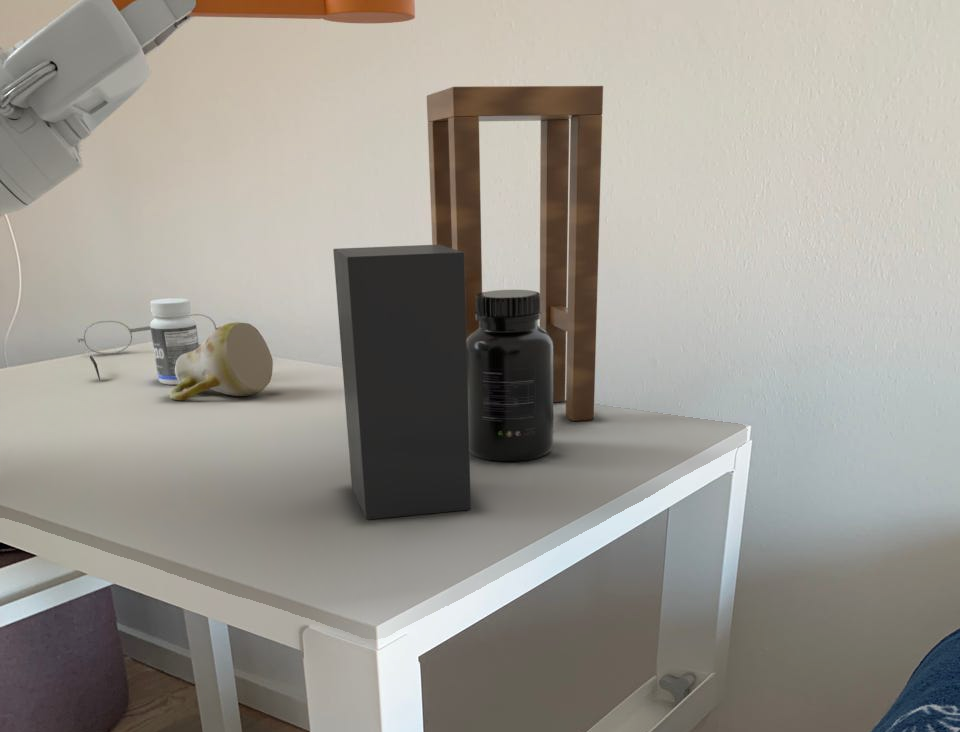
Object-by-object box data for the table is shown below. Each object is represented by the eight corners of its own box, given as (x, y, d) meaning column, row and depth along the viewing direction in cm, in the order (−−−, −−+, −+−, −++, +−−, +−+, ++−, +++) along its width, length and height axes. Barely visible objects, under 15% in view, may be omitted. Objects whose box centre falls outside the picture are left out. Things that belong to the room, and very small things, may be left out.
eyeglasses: (223, 343, 132) (219, 311, 130) (259, 369, 117) (255, 334, 115) (79, 355, 125) (73, 322, 124) (97, 385, 110) (91, 348, 108)
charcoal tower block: (366, 520, 65) (347, 256, 58) (351, 489, 71) (333, 248, 64) (471, 509, 66) (464, 252, 60) (448, 481, 73) (439, 244, 66)
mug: (197, 385, 108) (234, 301, 104) (258, 435, 105) (298, 350, 101) (145, 380, 101) (181, 289, 97) (208, 433, 98) (248, 342, 94)
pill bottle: (156, 379, 110) (143, 299, 107) (199, 375, 112) (188, 296, 108) (161, 386, 106) (149, 304, 103) (206, 382, 108) (195, 301, 104)
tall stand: (462, 430, 86) (452, 86, 75) (438, 406, 95) (426, 95, 84) (594, 419, 89) (603, 85, 78) (558, 397, 98) (562, 94, 86)
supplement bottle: (469, 441, 83) (465, 288, 78) (551, 439, 83) (553, 286, 77) (465, 463, 77) (460, 299, 72) (554, 462, 76) (556, 297, 71)
